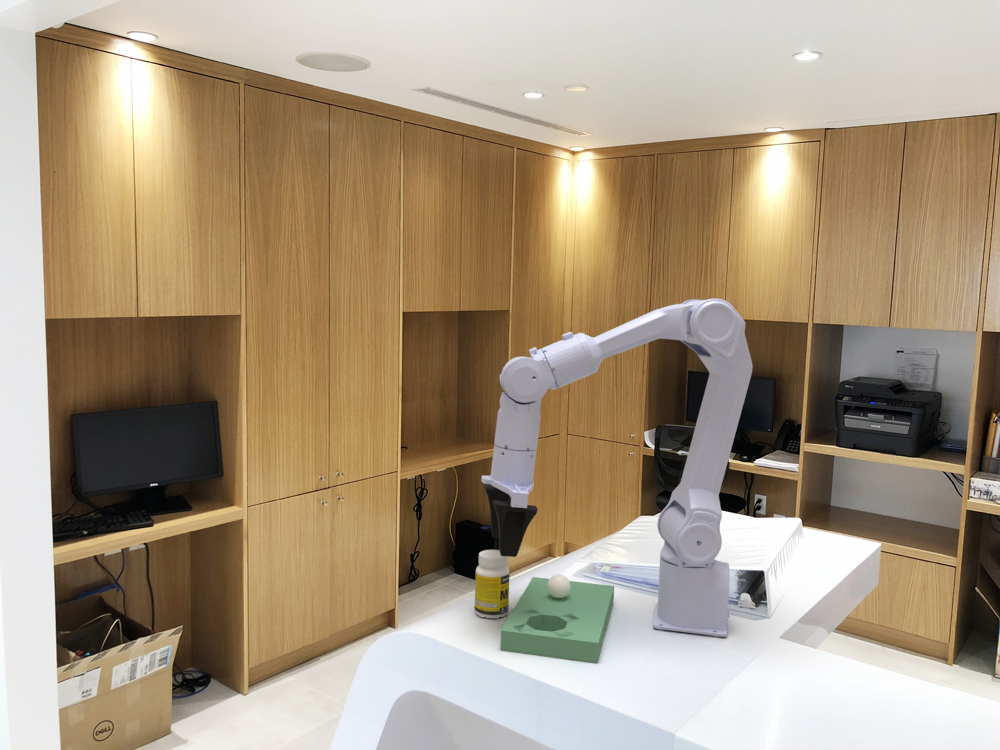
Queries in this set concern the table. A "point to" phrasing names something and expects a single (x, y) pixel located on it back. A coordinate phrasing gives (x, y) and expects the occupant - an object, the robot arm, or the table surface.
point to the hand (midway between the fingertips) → (503, 546)
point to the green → (559, 621)
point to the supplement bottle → (492, 585)
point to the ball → (558, 586)
